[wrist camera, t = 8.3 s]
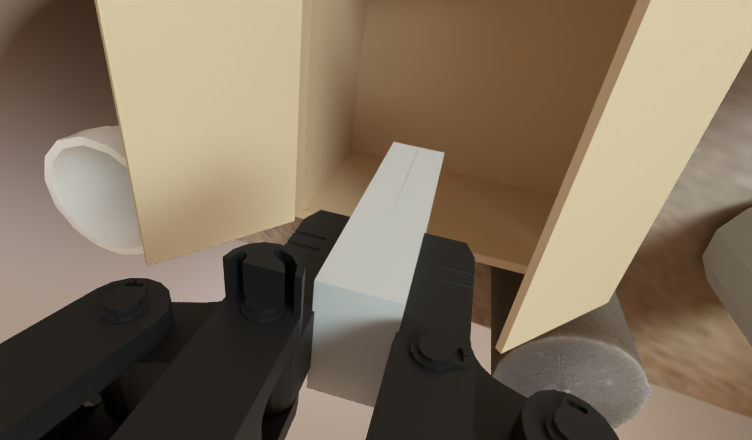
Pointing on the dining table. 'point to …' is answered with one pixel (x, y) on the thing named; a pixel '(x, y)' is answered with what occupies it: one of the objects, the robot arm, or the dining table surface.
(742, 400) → the dining table surface
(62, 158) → the foam cup
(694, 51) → the front flap
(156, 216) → the back flap
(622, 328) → the pillar candle
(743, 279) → the jar
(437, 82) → the carton
